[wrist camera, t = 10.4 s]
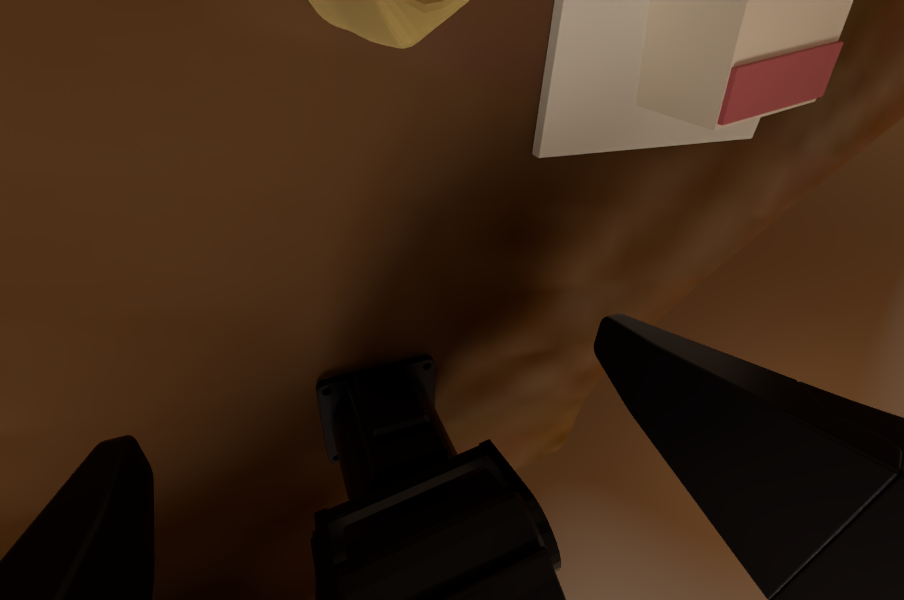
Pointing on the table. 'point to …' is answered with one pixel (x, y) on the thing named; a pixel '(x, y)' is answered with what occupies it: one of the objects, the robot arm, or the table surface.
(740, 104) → the card box
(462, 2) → the cheese
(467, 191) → the table surface
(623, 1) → the grey mat
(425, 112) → the table surface
